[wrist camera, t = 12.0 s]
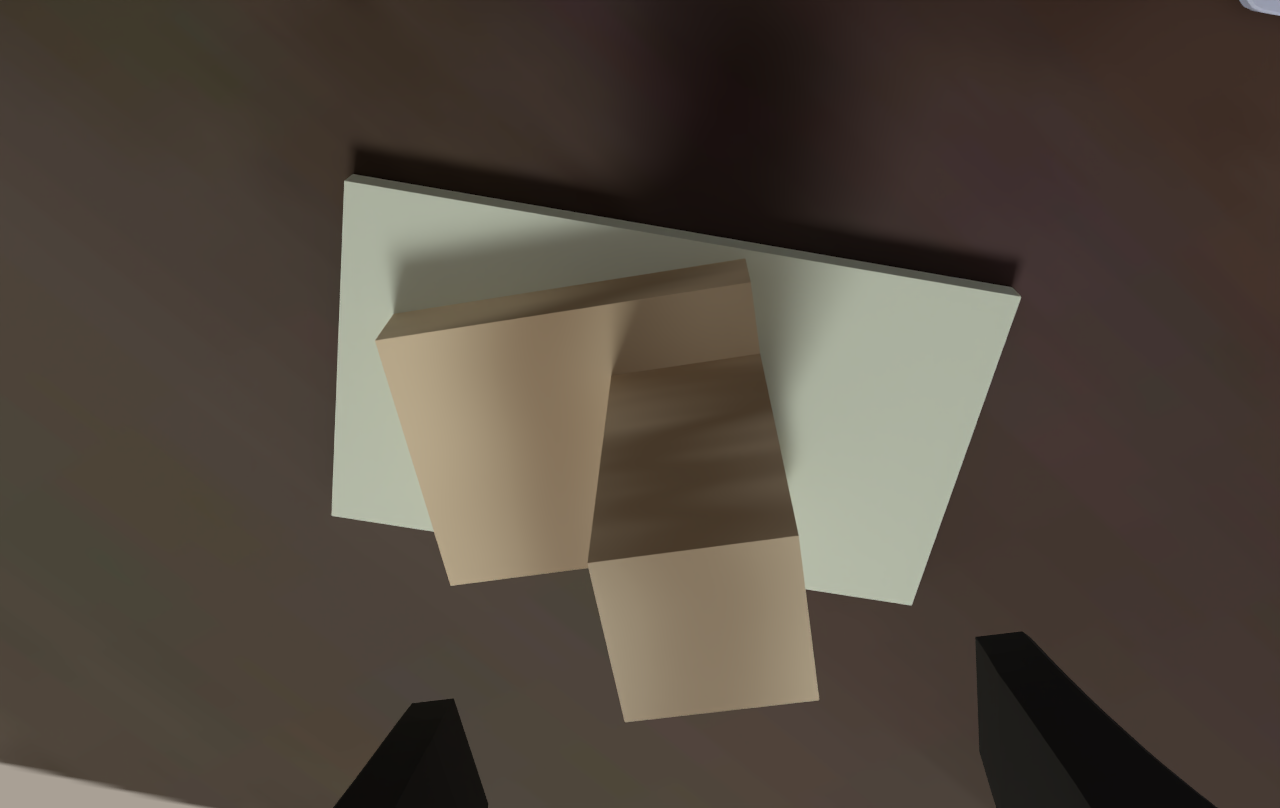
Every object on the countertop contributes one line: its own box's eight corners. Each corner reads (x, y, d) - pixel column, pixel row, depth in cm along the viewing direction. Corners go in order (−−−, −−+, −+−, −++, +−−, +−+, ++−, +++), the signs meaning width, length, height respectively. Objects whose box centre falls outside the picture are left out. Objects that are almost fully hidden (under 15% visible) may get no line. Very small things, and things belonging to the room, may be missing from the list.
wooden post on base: (745, 258, 20) (787, 441, 13) (777, 505, 23) (828, 772, 16) (393, 313, 21) (252, 516, 14) (463, 547, 24) (373, 820, 17)
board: (1012, 287, 21) (1021, 296, 21) (906, 590, 25) (911, 605, 24) (353, 173, 20) (344, 180, 20) (339, 502, 24) (331, 515, 23)
